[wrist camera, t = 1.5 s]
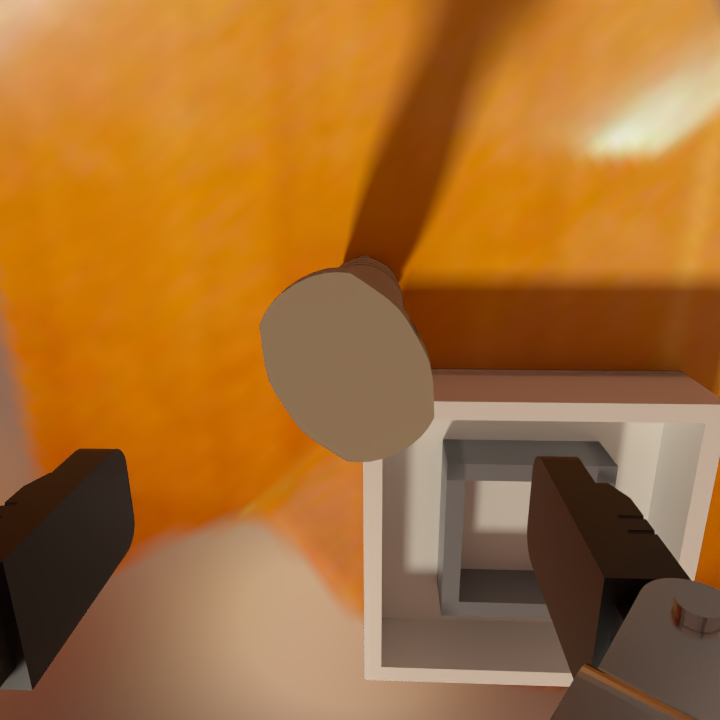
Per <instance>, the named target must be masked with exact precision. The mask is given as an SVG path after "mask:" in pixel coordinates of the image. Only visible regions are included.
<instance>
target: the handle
mask: <svg viewBox="0 0 720 720" xmlns="http://www.w3.org/2000/svg"><path fill="white" fill-rule="evenodd" d="M260 333H261V341H262V349H263V356H264V363H265V368H266V371H267V375H268V379H269V382H270V383H271V385H272V387H273V389H274V391H275V393H276V395H277V396H278V398H279V399H280V401H281V402H282V404H283V405H284V407H285V408H286V410H287V412H288V413H289V415H290V416H291V418H292V419H293V420H294V422H295V423H296V424H297V425H298V427H299V428H300V429H301V430H302V431H303V432H304V433H305V434H307V435H308V436H309V437H310V438H312V439H313V440H314V441H316V442H317V443H319V444H320V445H322V446H323V447H325V448H326V449H328V450H330V451H331V452H333V453H334V454H336V455H338V456H339V457H341V458H343V459H344V460H346V461H350V462H371V461H375V460H379V459H384V458H386V457H389V456H391V455H394V454H396V453H398V452H400V451H402V450H403V449H405V448H407V447H409V446H410V445H412V444H413V443H414V442H415V441H416V440H418V439H419V438H420V437H421V436H422V435H423V434H424V433H425V431H426V430H427V429H428V427H429V426H430V424H431V422H432V421H433V419H434V393H433V377H432V372H431V365H430V359H429V355H428V351H427V349H426V347H425V344H424V342H423V340H422V339H421V337H420V335H419V333H418V331H417V329H416V327H415V326H414V324H413V322H412V320H411V319H410V317H409V315H408V314H407V312H406V311H405V309H404V305H403V297H402V292H401V289H400V286H399V283H398V281H397V279H396V277H395V275H394V273H393V271H392V270H391V269H390V268H389V267H388V266H386V265H384V264H383V263H381V262H380V261H377V260H375V259H371V258H370V257H369V256H366V255H363V256H360V257H358V258H356V259H353V260H350V261H348V262H345V263H344V264H342V265H341V266H340V267H338V268H327V269H323V270H320V271H316V272H313V273H311V274H309V275H307V276H305V277H303V278H301V279H299V280H297V281H296V282H294V283H293V284H292V285H290V286H289V287H287V288H286V289H285V290H284V291H283V292H282V293H281V294H280V295H279V296H278V297H277V298H276V299H275V300H274V301H273V302H272V303H271V305H270V306H269V308H268V309H267V311H266V312H265V314H264V316H263V318H262V321H261V323H260Z"/></svg>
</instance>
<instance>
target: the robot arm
mask: <svg viewBox="0 0 720 720" xmlns="http://www.w3.org/2000/svg"><path fill="white" fill-rule="evenodd" d="M654 531H655V530H654V529H653V528H652V526H651V525H650V524H649V522H648V521H647V520H646V519H644V516H643V514H642V513H641V512H640V510H639V509H638V508H637V506H636V505H635V503H634V502H633V501H632V499H631V498H630V497H628V496H627V495H625V494H624V493H622V492H621V491H619V490H618V489H616V488H615V487H613V486H612V485H610V484H609V483H595V481H594V480H593V478H592V477H591V475H590V474H589V472H588V471H587V469H586V468H585V466H584V465H583V463H582V462H581V460H580V459H579V458H578V457H567V456H537V457H536V458H535V460H534V464H533V470H532V481H531V492H530V502H529V513H528V524H527V544H528V552H529V557H530V561H531V564H532V567H533V570H534V573H535V575H536V578H537V581H538V584H539V586H540V589H541V592H542V595H543V597H544V600H545V603H546V605H547V608H548V611H549V614H550V616H551V619H552V622H553V625H554V627H555V630H556V633H557V636H558V638H559V641H560V644H561V647H562V649H563V652H564V655H565V658H566V660H567V663H568V666H569V669H570V671H571V674H572V677H573V681H572V683H571V685H570V686H569V688H568V690H567V691H566V693H565V695H564V697H563V698H562V700H561V702H560V703H559V705H558V707H557V709H556V710H555V712H554V714H553V715H552V717H551V719H550V720H720V590H718V589H715V588H713V587H711V586H708V585H705V584H702V583H699V582H696V581H692V580H691V579H690V578H689V576H688V575H687V574H686V572H685V571H684V570H683V568H682V567H681V566H680V564H679V563H678V562H677V560H676V559H675V557H674V556H673V555H672V553H671V552H670V551H669V549H668V548H667V547H666V545H665V544H664V543H663V541H662V540H661V539H660V537H659V536H658V535H657V534H655V532H654ZM133 534H134V513H133V506H132V499H131V492H130V485H129V478H128V472H127V465H126V459H125V456H124V454H123V452H122V451H121V450H119V449H78V450H77V451H75V452H74V453H73V454H72V455H71V456H70V457H69V458H67V459H66V460H65V461H64V462H63V463H62V464H61V465H60V466H58V467H57V468H56V469H55V470H54V471H53V472H52V473H49V474H47V475H45V476H43V477H41V478H39V479H37V480H35V481H33V482H31V483H29V484H27V485H25V486H23V487H22V488H21V489H20V490H19V491H18V492H16V493H15V494H14V495H13V496H12V497H11V498H9V499H8V500H7V501H6V502H5V505H4V506H0V689H9V690H33V689H34V687H35V686H36V684H37V683H38V681H39V680H40V679H41V677H42V676H43V674H44V672H45V671H46V670H47V668H48V667H49V665H50V664H51V662H52V661H53V659H54V658H55V657H56V655H57V654H58V652H59V651H60V649H61V648H62V646H63V645H64V643H65V642H66V640H67V639H68V637H69V636H70V635H71V633H72V632H73V630H74V629H75V628H76V626H77V625H78V623H79V621H80V620H81V619H82V617H83V616H84V614H85V613H86V612H87V610H88V608H89V607H90V606H91V604H92V603H93V601H94V600H95V598H96V597H97V595H98V594H99V593H100V591H101V590H102V588H103V587H104V585H105V584H106V582H107V581H108V579H109V578H110V577H111V575H112V574H113V572H114V571H115V569H116V568H117V566H118V565H119V563H120V562H121V561H122V559H123V558H124V556H125V555H126V553H127V552H128V550H129V548H130V545H131V543H132V539H133Z"/></svg>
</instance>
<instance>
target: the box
mask: <svg viewBox="0 0 720 720" xmlns="http://www.w3.org/2000/svg"><path fill="white" fill-rule="evenodd" d="M431 372H432V377H433V393H434V419H433V421H432V422H431V424H430V426H429V427H428V429H427V430H426V431H425V433H424V434H423V435H422V436H421V437H420V438H419V439H418V440H416V441H415V442H414V443H413V444H412V445H410V446H409V447H407V448H405V449H403V450H402V451H400V452H398V453H396V454H394V455H391V456H389V457H386V458H384V459H379V460H375V461H371V462H363V509H364V675H365V680H389V681H419V682H448V683H478V684H508V685H538V686H568V687H569V686H570V685H571V683H572V681H573V677H572V674H571V671H570V669H569V666H568V663H567V660H566V658H565V655H564V652H563V649H562V647H561V644H560V641H559V638H558V636H557V633H556V630H555V627H554V625H553V622H552V619H551V616H550V614H549V611H548V608H547V605H546V603H545V600H544V597H543V595H542V592H541V589H540V586H539V584H538V581H537V578H536V575H535V573H534V570H533V567H532V564H531V561H530V557H529V552H528V544H527V524H528V513H529V502H530V492H531V481H532V470H533V464H534V460H535V458H536V457H537V456H567V457H578V458H579V459H580V460H581V462H582V463H583V465H584V466H585V468H586V469H587V471H588V472H589V474H590V475H591V477H592V478H593V480H594V481H595V483H609V484H610V485H612V486H613V487H615V488H616V489H618V490H619V491H621V492H622V493H624V494H625V495H627V496H628V497H630V498H631V499H632V501H633V502H634V503H635V505H636V506H637V508H638V509H639V510H640V512H641V513H642V514H643V516H644V519H646V520H647V521H648V522H649V524H650V525H651V526H652V528H653V529H654V530H655V531H654V532H655V534H657V535H658V536H659V537H660V539H661V540H662V541H663V543H664V544H665V545H666V547H667V548H668V549H669V551H670V552H671V553H672V555H673V556H674V557H675V559H676V560H677V562H678V563H679V564H680V566H681V567H682V568H683V570H684V571H685V572H686V574H687V575H688V576H689V578H690V579H691V580H692V581H694V580H695V575H696V570H697V565H698V560H699V555H700V550H701V545H702V540H703V535H704V531H705V526H706V521H707V516H708V511H709V506H710V501H711V496H712V491H713V486H714V481H715V477H716V472H717V467H718V462H719V457H720V397H718V396H717V395H715V394H714V393H712V392H711V391H710V390H708V389H707V388H705V387H704V386H702V385H701V384H699V383H698V382H696V381H695V380H694V379H692V378H691V377H689V376H688V375H686V374H685V373H683V372H682V371H594V370H477V369H431Z"/></svg>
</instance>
